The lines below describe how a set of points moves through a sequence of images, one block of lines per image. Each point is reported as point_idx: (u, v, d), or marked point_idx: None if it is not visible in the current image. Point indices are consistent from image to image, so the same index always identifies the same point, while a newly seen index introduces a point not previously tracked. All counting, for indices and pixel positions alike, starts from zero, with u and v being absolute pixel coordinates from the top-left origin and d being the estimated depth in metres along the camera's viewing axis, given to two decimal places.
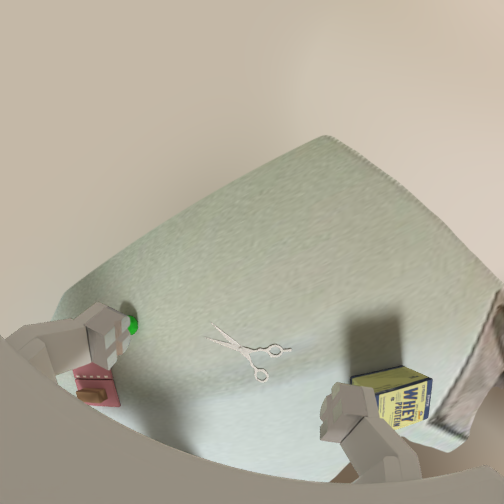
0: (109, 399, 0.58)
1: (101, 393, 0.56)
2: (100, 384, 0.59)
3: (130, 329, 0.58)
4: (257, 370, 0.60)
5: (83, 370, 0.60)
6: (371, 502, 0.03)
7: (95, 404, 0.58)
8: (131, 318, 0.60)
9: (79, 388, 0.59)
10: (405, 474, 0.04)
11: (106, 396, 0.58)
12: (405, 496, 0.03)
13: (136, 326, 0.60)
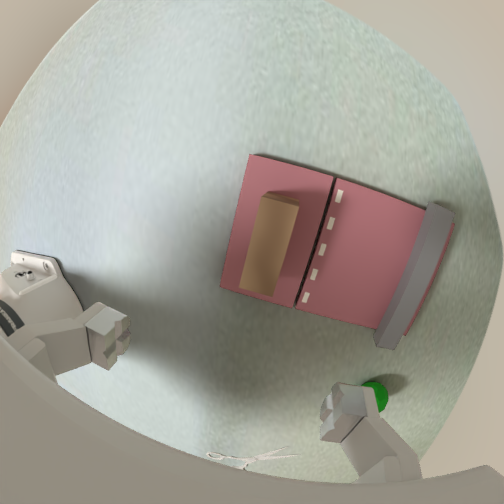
0: None
1: None
2: (291, 268, 0.27)
3: None
4: (222, 457, 0.42)
5: (347, 230, 0.25)
6: (371, 502, 0.03)
7: (240, 211, 0.26)
8: None
9: (302, 177, 0.24)
10: (405, 474, 0.04)
11: None
12: (405, 496, 0.03)
13: None
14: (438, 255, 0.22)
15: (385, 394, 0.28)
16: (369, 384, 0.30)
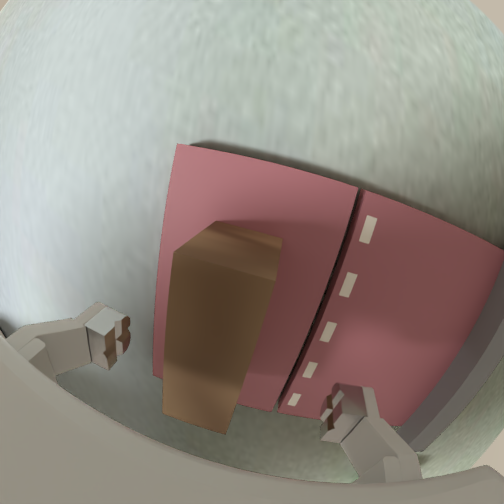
0: None
1: None
2: (268, 362, 0.14)
3: None
4: None
5: (380, 296, 0.12)
6: (371, 502, 0.03)
7: (165, 259, 0.13)
8: None
9: (289, 189, 0.11)
10: (405, 474, 0.04)
11: None
12: (405, 496, 0.03)
13: None
14: None
15: None
16: None
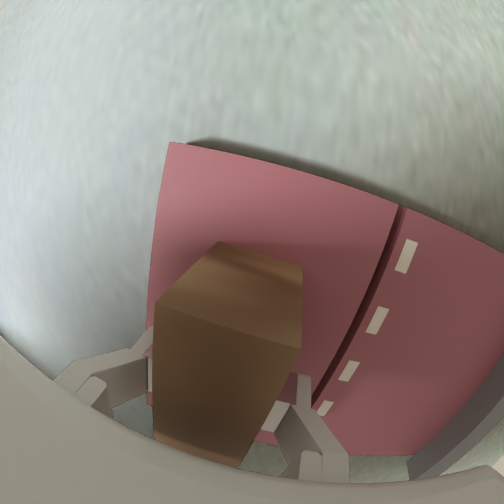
0: None
1: None
2: None
3: None
4: None
5: (411, 332, 0.09)
6: (371, 502, 0.03)
7: (156, 285, 0.10)
8: None
9: (313, 203, 0.08)
10: (327, 474, 0.05)
11: None
12: (405, 496, 0.03)
13: None
14: None
15: None
16: None
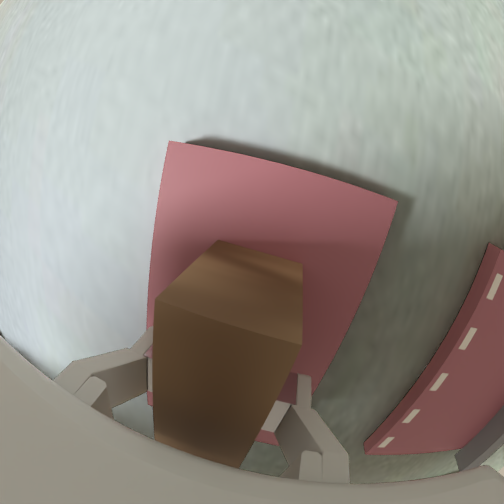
0: None
1: None
2: None
3: None
4: None
5: (486, 345, 0.09)
6: (371, 502, 0.03)
7: (156, 284, 0.10)
8: None
9: (312, 201, 0.08)
10: (327, 474, 0.05)
11: None
12: (405, 496, 0.03)
13: None
14: None
15: None
16: None
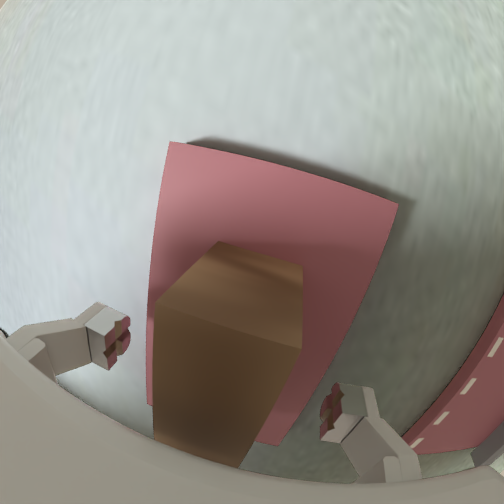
0: None
1: None
2: (277, 400, 0.11)
3: None
4: None
5: None
6: (371, 502, 0.03)
7: (156, 285, 0.10)
8: None
9: (313, 203, 0.08)
10: (405, 474, 0.04)
11: None
12: (405, 496, 0.03)
13: None
14: None
15: None
16: None
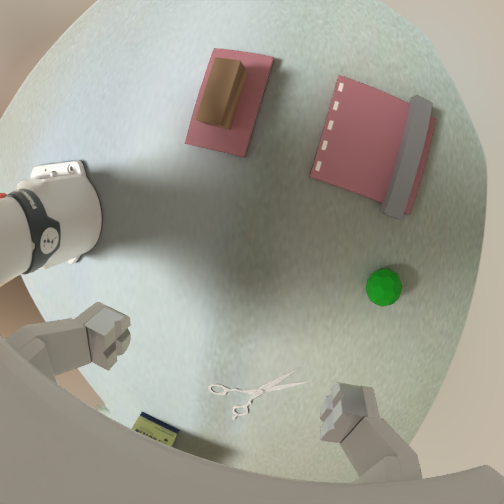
0: (205, 127, 0.31)
1: (219, 125, 0.29)
2: (241, 122, 0.31)
3: (376, 300, 0.32)
4: (226, 390, 0.46)
5: (349, 111, 0.28)
6: (371, 502, 0.03)
7: (204, 83, 0.30)
8: None
9: (250, 58, 0.28)
10: (405, 474, 0.04)
11: (212, 125, 0.31)
12: (405, 496, 0.03)
13: None
14: (424, 133, 0.25)
15: (398, 278, 0.31)
16: None
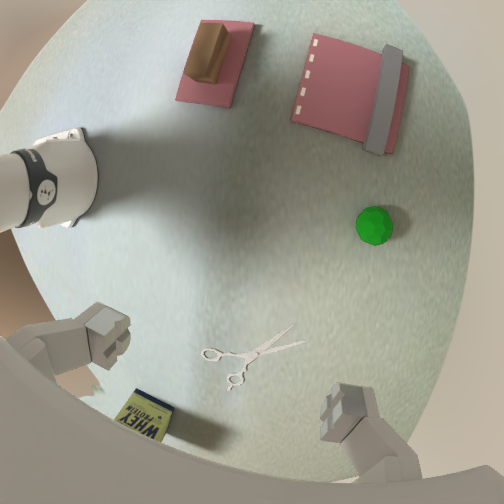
0: (193, 84, 0.32)
1: (205, 78, 0.29)
2: (226, 77, 0.31)
3: (367, 236, 0.31)
4: (219, 355, 0.45)
5: (324, 62, 0.28)
6: (371, 502, 0.03)
7: None
8: (382, 242, 0.32)
9: (233, 25, 0.28)
10: (405, 474, 0.04)
11: (200, 81, 0.31)
12: (405, 496, 0.03)
13: (365, 241, 0.33)
14: (397, 76, 0.25)
15: (388, 215, 0.31)
16: None
